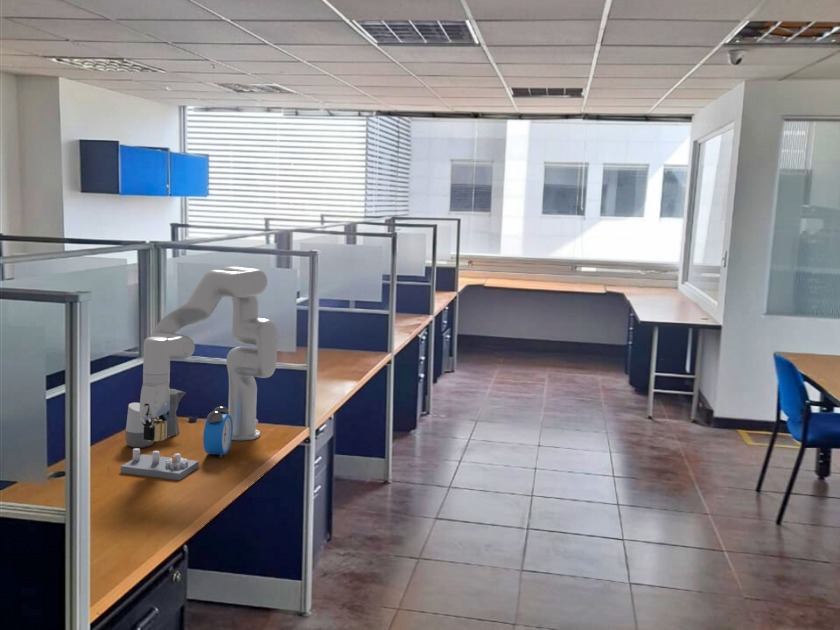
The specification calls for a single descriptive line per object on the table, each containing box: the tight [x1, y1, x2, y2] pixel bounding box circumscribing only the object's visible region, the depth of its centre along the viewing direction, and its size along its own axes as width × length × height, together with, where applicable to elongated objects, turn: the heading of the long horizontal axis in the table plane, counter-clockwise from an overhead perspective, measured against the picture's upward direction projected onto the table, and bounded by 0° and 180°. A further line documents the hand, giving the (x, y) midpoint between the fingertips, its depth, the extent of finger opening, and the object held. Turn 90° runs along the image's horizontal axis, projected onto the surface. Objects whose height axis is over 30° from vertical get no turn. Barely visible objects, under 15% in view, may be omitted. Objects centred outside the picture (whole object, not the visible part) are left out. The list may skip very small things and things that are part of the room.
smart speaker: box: [125, 402, 155, 449], centre depth 258 cm, size 10×9×14 cm
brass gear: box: [148, 419, 168, 442], centre depth 236 cm, size 6×6×5 cm
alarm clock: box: [202, 405, 233, 458], centre depth 254 cm, size 13×6×15 cm, turn 177°
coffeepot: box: [138, 388, 187, 438], centre depth 272 cm, size 15×9×18 cm, turn 110°
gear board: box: [120, 448, 200, 481], centre depth 237 cm, size 12×19×6 cm, turn 79°
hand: (155, 436), depth 236 cm, fingers closed on brass gear, 6 cm apart
